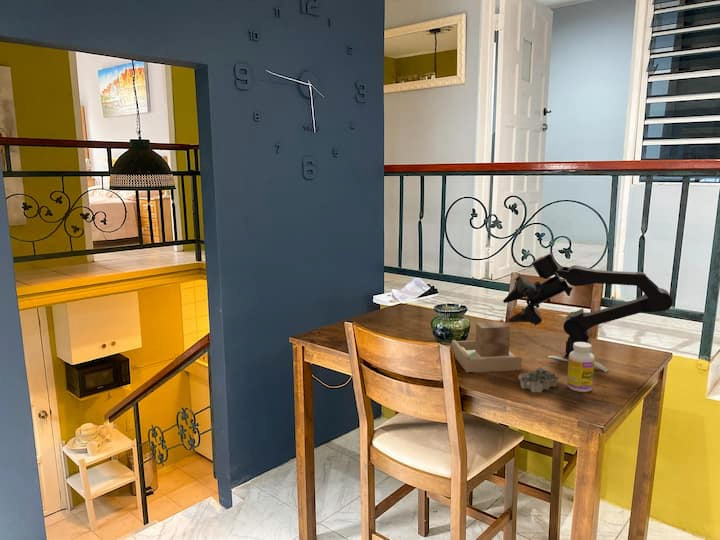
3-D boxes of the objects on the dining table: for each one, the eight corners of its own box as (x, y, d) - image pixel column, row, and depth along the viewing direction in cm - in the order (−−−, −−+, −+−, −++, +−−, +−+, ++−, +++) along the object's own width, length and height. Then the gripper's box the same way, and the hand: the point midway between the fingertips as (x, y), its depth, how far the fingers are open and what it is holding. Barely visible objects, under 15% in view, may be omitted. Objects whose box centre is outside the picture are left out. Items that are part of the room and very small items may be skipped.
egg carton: (536, 395, 150) (536, 381, 149) (515, 386, 156) (515, 372, 155) (561, 386, 155) (562, 372, 155) (540, 378, 162) (540, 364, 161)
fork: (548, 362, 181) (548, 354, 181) (612, 372, 165) (612, 363, 165) (544, 365, 179) (544, 356, 179) (608, 374, 164) (608, 365, 163)
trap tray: (500, 350, 186) (500, 337, 185) (521, 370, 168) (521, 355, 167) (451, 352, 184) (451, 339, 183) (467, 372, 166) (467, 358, 165)
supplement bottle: (580, 394, 149) (583, 349, 147) (561, 386, 155) (564, 343, 152) (597, 389, 152) (600, 345, 150) (578, 381, 158) (581, 339, 155)
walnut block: (502, 349, 179) (503, 321, 177) (508, 355, 173) (509, 326, 171) (475, 350, 178) (476, 322, 176) (481, 357, 172) (481, 328, 170)
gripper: (529, 257, 182) (489, 279, 189) (542, 295, 168) (498, 317, 174) (545, 276, 187) (505, 297, 194) (559, 315, 173) (516, 336, 180)
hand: (506, 311), depth 185 cm, fingers open, 9 cm apart
